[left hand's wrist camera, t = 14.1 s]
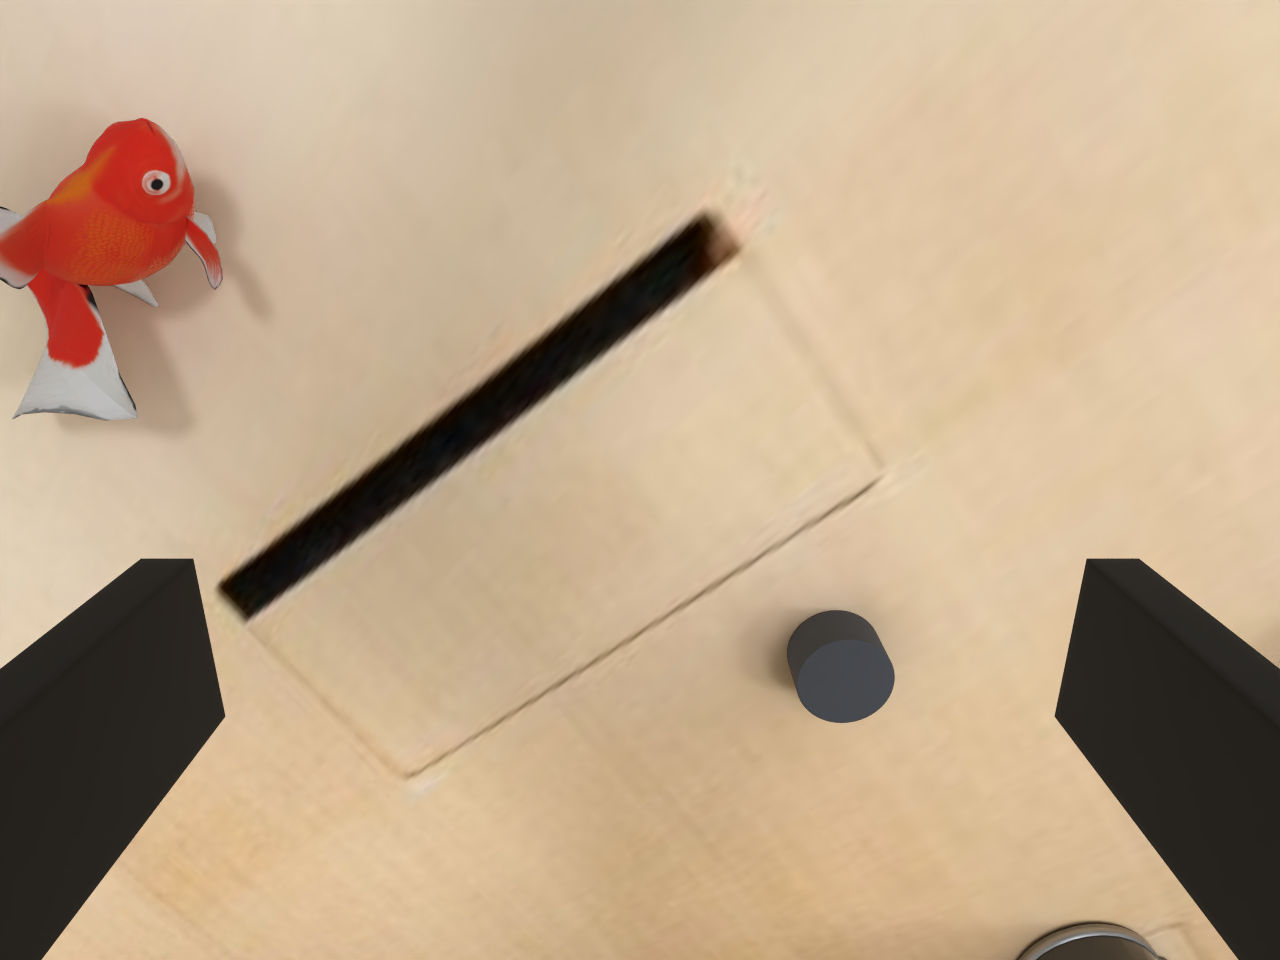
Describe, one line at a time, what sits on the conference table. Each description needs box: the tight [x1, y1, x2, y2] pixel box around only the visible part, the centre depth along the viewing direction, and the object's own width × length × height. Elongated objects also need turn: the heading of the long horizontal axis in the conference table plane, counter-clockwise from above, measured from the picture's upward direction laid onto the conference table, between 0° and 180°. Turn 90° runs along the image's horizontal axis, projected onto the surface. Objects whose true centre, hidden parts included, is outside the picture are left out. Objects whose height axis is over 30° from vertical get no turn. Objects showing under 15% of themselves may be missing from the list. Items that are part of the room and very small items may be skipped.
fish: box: [0, 118, 223, 421], centre depth 35 cm, size 11×16×10 cm
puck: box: [787, 611, 895, 723], centre depth 44 cm, size 5×5×3 cm
